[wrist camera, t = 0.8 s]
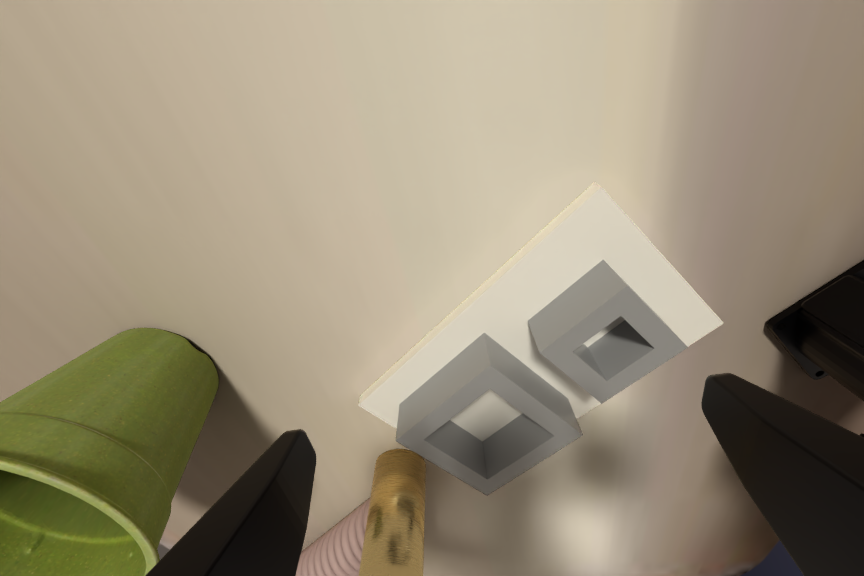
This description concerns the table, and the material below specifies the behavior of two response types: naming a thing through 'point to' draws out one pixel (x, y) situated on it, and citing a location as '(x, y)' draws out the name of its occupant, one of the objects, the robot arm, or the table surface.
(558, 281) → the fitting board
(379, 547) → the cylinder
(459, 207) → the table surface
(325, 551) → the coil
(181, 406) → the plant pot
